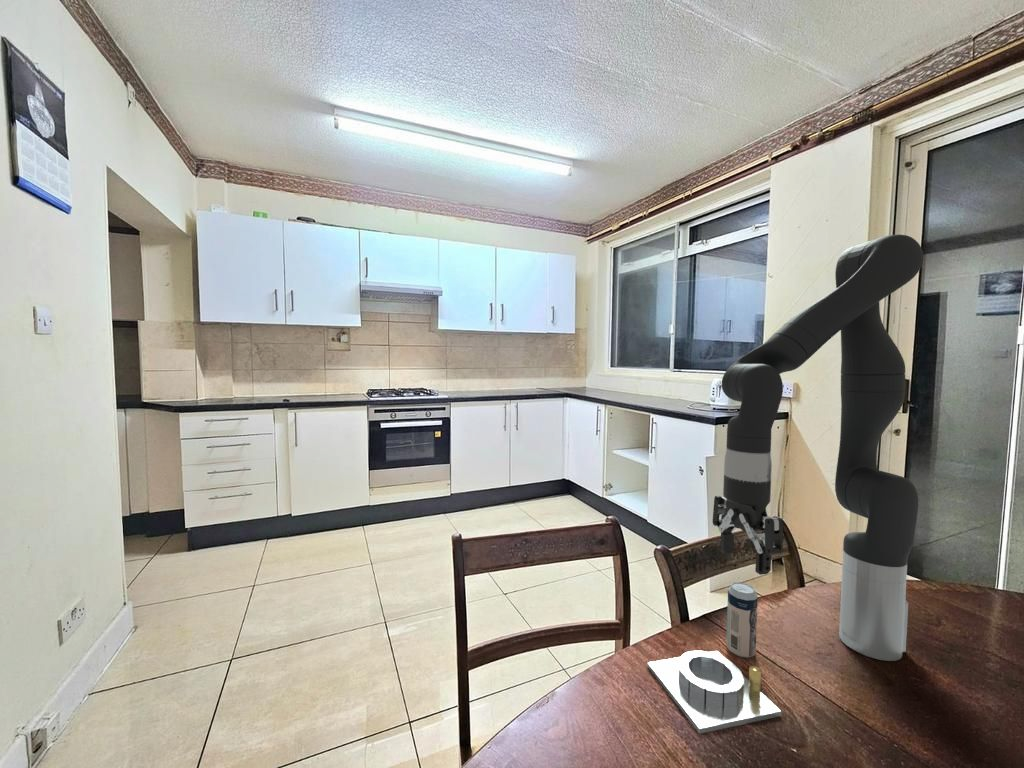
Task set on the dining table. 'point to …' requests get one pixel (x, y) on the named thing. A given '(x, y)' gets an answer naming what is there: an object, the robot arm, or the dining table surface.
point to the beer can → (742, 620)
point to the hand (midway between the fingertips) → (743, 562)
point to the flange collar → (713, 690)
